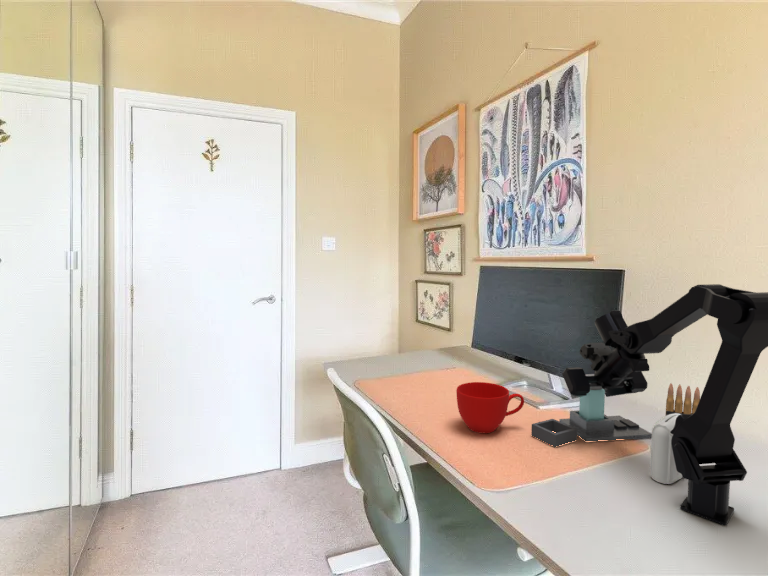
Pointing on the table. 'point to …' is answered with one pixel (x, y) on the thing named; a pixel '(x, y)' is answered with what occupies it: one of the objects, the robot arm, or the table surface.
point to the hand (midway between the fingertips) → (589, 395)
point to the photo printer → (663, 451)
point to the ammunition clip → (681, 401)
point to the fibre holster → (545, 432)
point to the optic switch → (605, 428)
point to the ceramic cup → (484, 405)
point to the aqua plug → (593, 403)
